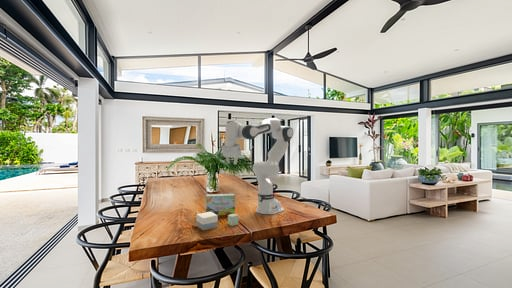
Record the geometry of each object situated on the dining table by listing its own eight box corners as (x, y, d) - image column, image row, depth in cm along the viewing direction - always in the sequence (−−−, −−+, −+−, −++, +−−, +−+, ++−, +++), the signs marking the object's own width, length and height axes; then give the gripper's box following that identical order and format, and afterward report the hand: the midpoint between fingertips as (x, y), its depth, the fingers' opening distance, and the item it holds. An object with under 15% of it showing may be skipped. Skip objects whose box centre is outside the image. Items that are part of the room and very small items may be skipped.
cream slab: (210, 217, 160) (210, 211, 160) (217, 221, 152) (217, 215, 152) (196, 220, 154) (196, 214, 154) (203, 224, 146) (203, 218, 146)
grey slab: (210, 223, 160) (210, 217, 160) (217, 227, 152) (217, 221, 152) (196, 226, 154) (196, 220, 154) (202, 231, 146) (202, 224, 146)
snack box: (206, 216, 174) (206, 195, 174) (206, 214, 180) (206, 194, 180) (234, 214, 178) (234, 194, 178) (234, 212, 184) (234, 193, 184)
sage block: (234, 222, 161) (234, 213, 161) (238, 224, 157) (238, 215, 157) (227, 223, 158) (227, 214, 158) (231, 226, 154) (231, 216, 154)
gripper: (243, 143, 158) (243, 164, 158) (228, 143, 175) (228, 162, 175) (235, 143, 154) (235, 165, 154) (221, 143, 171) (220, 162, 171)
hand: (231, 163), depth 165 cm, fingers open, 8 cm apart
